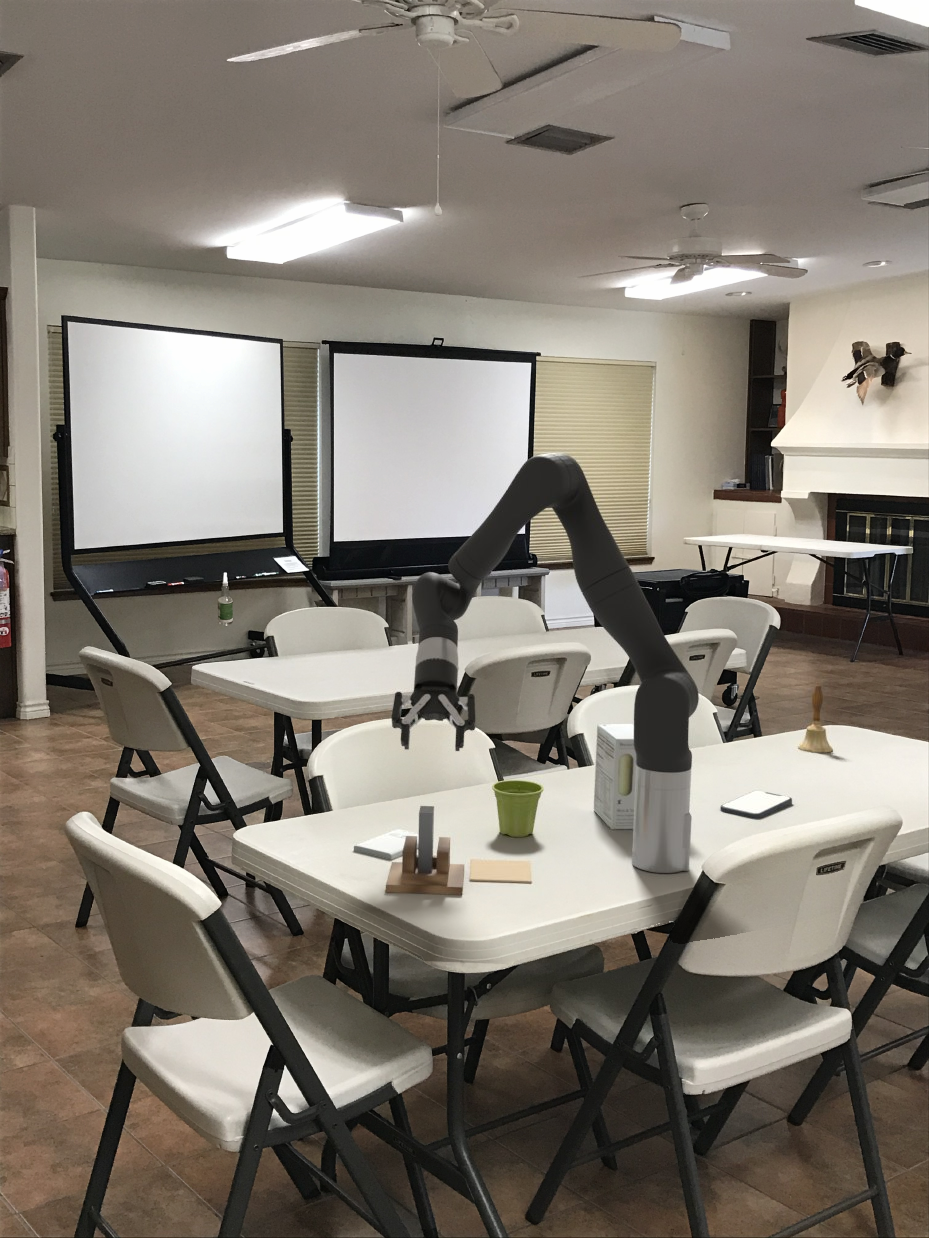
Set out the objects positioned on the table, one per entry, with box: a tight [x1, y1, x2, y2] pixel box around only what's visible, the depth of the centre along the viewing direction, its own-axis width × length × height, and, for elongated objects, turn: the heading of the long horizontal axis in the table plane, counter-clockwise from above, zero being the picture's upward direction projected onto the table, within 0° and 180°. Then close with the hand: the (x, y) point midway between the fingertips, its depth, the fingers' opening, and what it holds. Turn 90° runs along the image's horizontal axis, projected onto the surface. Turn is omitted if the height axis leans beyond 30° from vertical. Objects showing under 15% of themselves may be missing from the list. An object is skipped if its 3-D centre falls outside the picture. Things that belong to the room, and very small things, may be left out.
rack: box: [385, 836, 465, 896], centre depth 191 cm, size 12×11×6 cm
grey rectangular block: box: [417, 805, 435, 874], centre depth 191 cm, size 2×4×10 cm, turn 179°
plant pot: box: [491, 779, 544, 838], centre depth 218 cm, size 9×9×9 cm
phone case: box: [719, 790, 793, 820], centre depth 240 cm, size 9×2×16 cm
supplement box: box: [593, 723, 636, 831], centre depth 228 cm, size 13×13×18 cm
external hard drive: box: [353, 828, 419, 861], centre depth 209 cm, size 2×8×12 cm
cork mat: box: [469, 858, 533, 884], centre depth 197 cm, size 10×10×1 cm
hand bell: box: [797, 684, 834, 754], centre depth 293 cm, size 8×8×16 cm
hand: (432, 747), depth 199 cm, fingers open, 8 cm apart
